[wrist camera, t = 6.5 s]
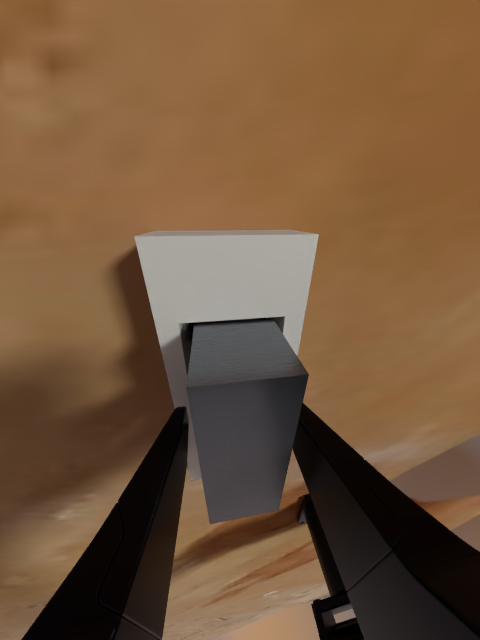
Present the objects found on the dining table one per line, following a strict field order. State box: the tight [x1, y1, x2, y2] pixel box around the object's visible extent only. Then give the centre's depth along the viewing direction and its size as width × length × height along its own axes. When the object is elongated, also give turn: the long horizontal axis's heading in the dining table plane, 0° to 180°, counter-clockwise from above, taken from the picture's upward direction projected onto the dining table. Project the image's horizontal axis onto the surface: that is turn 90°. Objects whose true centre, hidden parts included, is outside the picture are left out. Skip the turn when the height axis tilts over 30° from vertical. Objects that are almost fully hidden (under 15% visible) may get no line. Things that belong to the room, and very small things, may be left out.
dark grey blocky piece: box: [186, 318, 309, 524], centre depth 9 cm, size 8×3×5 cm, turn 0°
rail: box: [134, 230, 319, 481], centre depth 10 cm, size 14×6×2 cm, turn 0°
